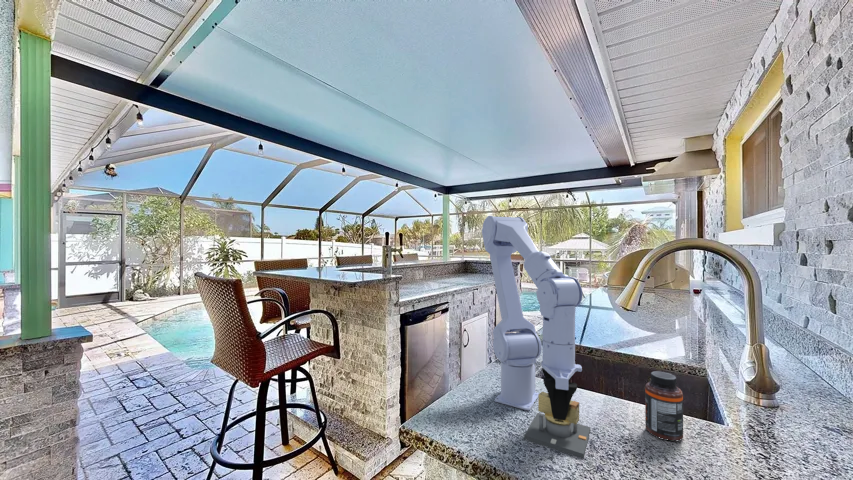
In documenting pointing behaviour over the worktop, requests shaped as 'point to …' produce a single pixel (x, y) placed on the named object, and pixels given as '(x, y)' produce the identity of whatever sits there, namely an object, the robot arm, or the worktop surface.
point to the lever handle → (545, 407)
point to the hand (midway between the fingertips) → (558, 412)
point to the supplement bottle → (664, 406)
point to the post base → (562, 442)
